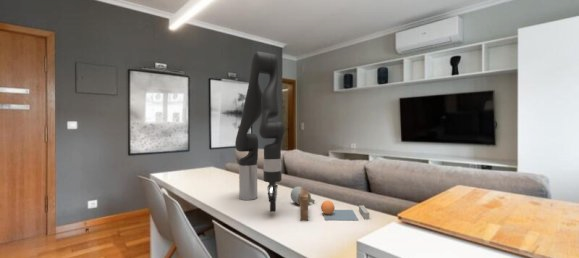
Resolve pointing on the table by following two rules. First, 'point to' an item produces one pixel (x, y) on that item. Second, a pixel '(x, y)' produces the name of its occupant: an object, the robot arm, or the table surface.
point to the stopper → (364, 212)
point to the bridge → (303, 204)
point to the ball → (327, 207)
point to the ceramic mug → (296, 196)
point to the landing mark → (341, 215)
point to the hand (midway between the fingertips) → (272, 211)
